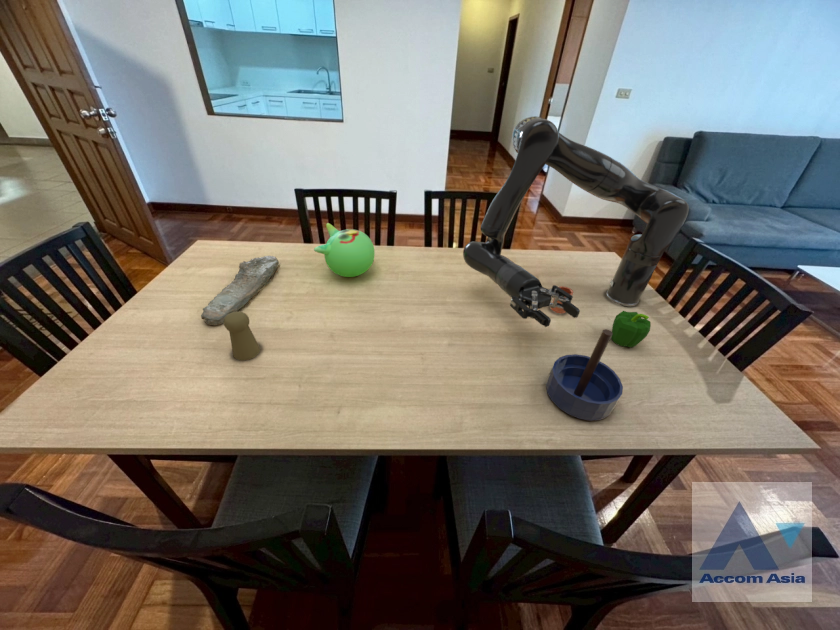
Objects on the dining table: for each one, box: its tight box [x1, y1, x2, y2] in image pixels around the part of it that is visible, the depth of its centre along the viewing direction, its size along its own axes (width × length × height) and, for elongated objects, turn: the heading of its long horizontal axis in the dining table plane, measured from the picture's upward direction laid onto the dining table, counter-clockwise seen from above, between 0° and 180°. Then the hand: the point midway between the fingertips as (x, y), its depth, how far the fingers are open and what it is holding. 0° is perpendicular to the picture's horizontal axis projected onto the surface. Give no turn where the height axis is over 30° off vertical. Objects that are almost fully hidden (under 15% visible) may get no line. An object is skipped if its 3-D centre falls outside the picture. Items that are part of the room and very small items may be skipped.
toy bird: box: [313, 222, 376, 278], centre depth 113 cm, size 18×17×15 cm
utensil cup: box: [550, 285, 574, 314], centre depth 104 cm, size 5×5×7 cm
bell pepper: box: [611, 310, 652, 348], centre depth 92 cm, size 8×8×10 cm
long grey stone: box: [200, 255, 280, 326], centre depth 105 cm, size 35×5×10 cm
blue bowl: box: [545, 353, 624, 422], centre depth 78 cm, size 14×14×6 cm
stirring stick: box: [574, 328, 613, 397], centre depth 74 cm, size 2×2×18 cm
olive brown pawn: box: [223, 310, 261, 361], centre depth 82 cm, size 6×6×11 cm
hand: (563, 318), depth 78 cm, fingers open, 8 cm apart
